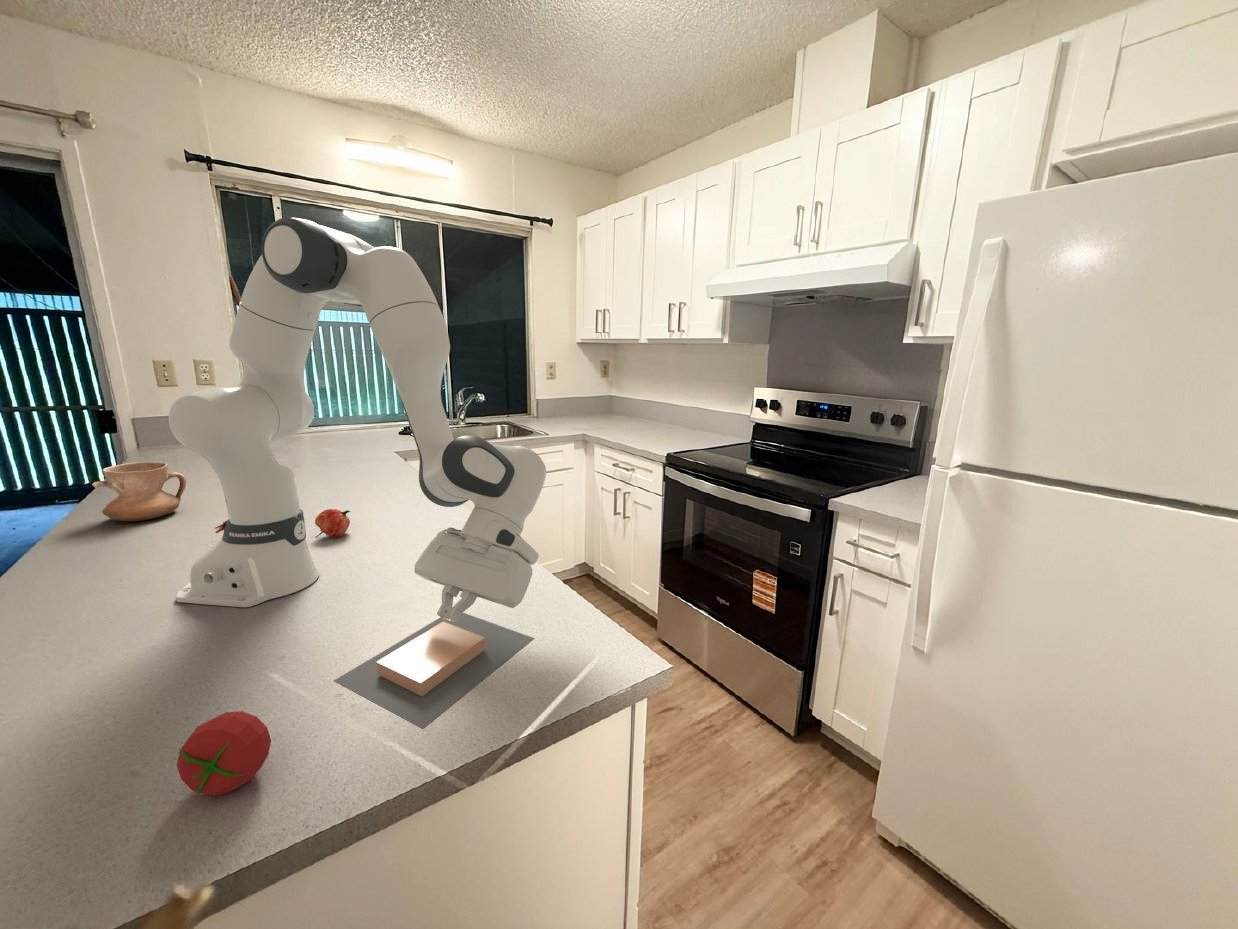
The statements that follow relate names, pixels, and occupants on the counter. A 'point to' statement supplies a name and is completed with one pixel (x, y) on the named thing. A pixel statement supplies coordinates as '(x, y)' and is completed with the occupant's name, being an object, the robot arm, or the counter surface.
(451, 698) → the mat
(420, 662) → the tile
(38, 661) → the counter surface
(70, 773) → the counter surface
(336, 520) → the pomegranate
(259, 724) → the tomato
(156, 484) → the ceramic jug
